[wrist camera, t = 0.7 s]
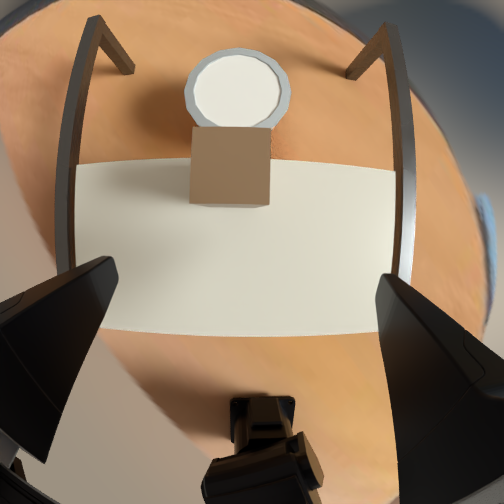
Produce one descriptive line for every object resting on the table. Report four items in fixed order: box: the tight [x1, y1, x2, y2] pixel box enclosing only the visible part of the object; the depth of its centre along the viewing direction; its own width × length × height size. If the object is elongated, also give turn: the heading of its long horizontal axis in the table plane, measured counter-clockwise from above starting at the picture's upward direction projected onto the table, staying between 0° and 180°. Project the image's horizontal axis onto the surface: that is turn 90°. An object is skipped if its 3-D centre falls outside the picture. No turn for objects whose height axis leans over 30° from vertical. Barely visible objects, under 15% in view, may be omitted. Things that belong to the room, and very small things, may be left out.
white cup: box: [184, 48, 291, 130], centre depth 20 cm, size 7×7×7 cm
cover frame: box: [55, 15, 416, 285], centre depth 19 cm, size 22×22×9 cm
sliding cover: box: [75, 126, 396, 337], centre depth 13 cm, size 10×19×8 cm, turn 89°
